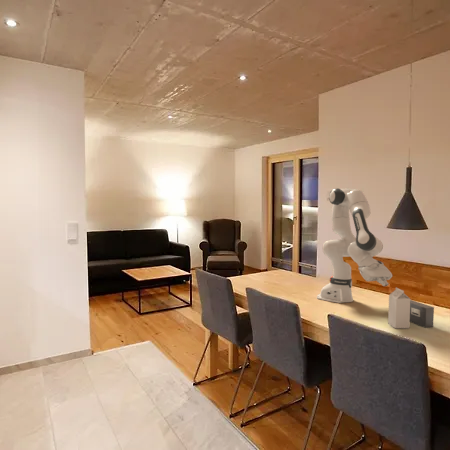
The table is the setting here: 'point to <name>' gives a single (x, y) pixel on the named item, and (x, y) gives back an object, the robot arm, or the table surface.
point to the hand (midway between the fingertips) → (386, 285)
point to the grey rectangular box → (421, 314)
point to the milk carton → (399, 309)
